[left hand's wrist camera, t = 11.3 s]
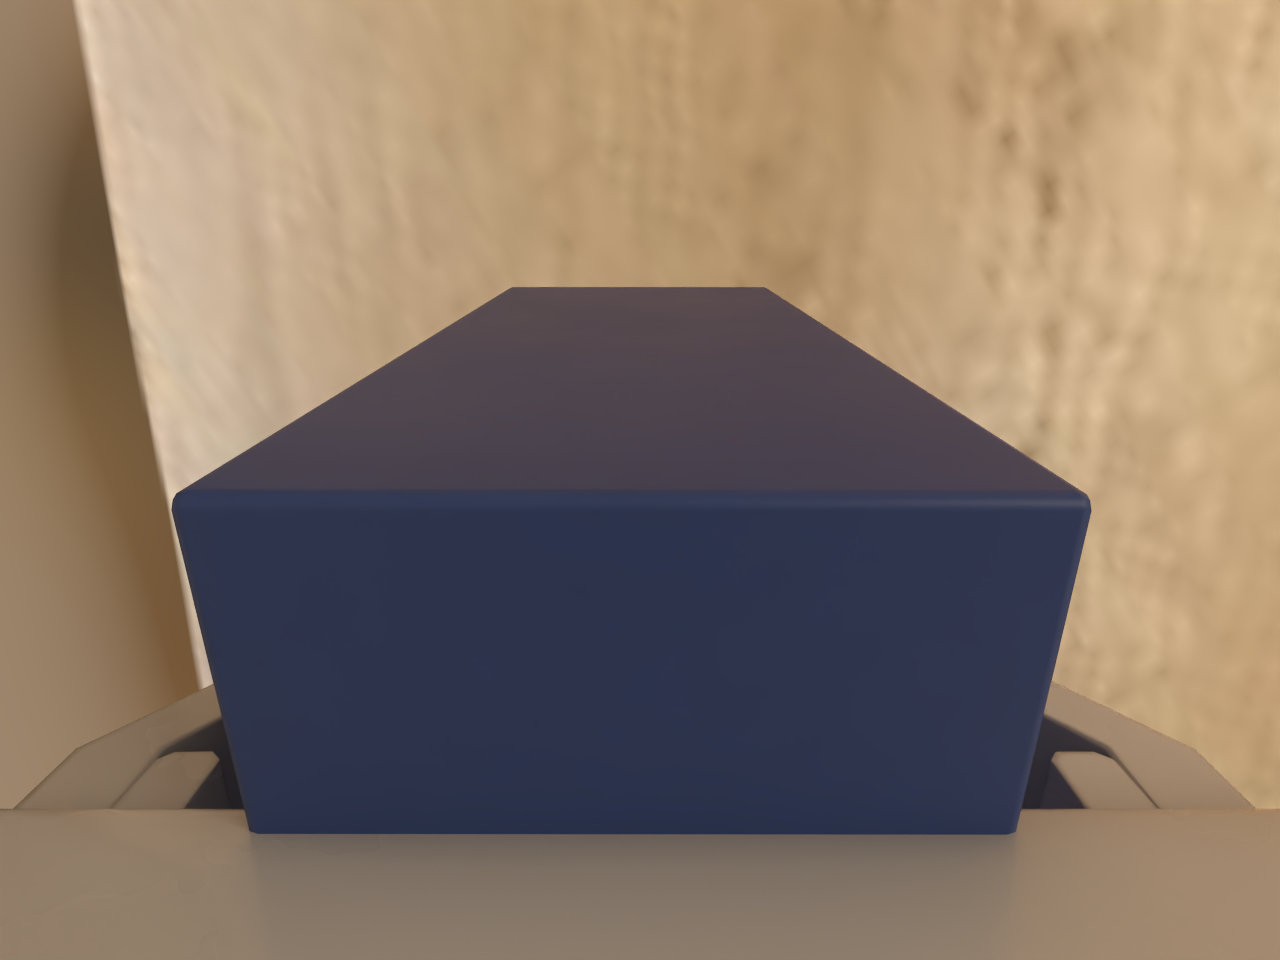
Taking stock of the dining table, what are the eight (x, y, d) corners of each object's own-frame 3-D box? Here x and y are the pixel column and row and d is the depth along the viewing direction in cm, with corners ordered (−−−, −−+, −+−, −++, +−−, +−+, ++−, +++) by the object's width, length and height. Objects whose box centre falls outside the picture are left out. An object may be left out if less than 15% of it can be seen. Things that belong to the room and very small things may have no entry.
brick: (531, 655, 17) (365, 1329, 7) (508, 286, 14) (157, 496, 4) (746, 655, 17) (904, 1329, 7) (768, 286, 14) (1103, 494, 4)
